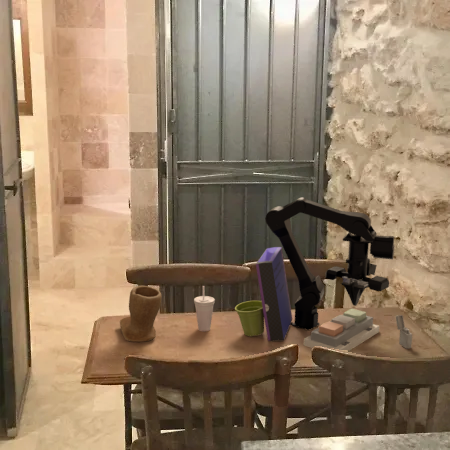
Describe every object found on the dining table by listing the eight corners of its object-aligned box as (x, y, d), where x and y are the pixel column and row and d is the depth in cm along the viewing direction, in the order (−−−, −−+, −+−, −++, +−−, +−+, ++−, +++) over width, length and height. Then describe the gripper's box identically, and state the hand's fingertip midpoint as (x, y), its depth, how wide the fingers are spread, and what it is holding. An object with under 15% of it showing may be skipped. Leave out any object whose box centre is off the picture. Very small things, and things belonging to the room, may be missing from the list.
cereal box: (277, 320, 212) (266, 247, 208) (292, 319, 211) (281, 246, 206) (268, 341, 196) (255, 263, 191) (283, 340, 194) (271, 261, 190)
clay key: (318, 334, 192) (319, 325, 191) (327, 329, 196) (328, 321, 195) (333, 338, 189) (334, 330, 188) (342, 333, 192) (343, 325, 192)
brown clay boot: (164, 343, 194) (164, 294, 190) (123, 346, 191) (122, 297, 188) (157, 324, 208) (157, 278, 205) (119, 327, 206) (118, 280, 202)
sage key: (343, 320, 202) (343, 312, 202) (351, 316, 206) (351, 308, 205) (357, 324, 199) (358, 316, 199) (365, 319, 203) (366, 312, 202)
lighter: (411, 348, 192) (413, 322, 190) (406, 348, 191) (408, 322, 190) (398, 338, 199) (400, 313, 197) (393, 339, 198) (395, 313, 196)
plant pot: (232, 336, 201) (228, 309, 199) (252, 324, 207) (248, 298, 205) (255, 341, 194) (252, 313, 192) (275, 329, 201) (272, 302, 199)
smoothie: (190, 331, 203) (190, 287, 199) (199, 323, 208) (199, 281, 205) (209, 334, 200) (209, 290, 197) (217, 326, 206) (218, 284, 203)
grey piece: (303, 345, 193) (304, 330, 192) (344, 322, 211) (345, 309, 210) (339, 356, 186) (340, 341, 185) (378, 331, 203) (379, 318, 202)
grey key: (331, 327, 197) (331, 319, 196) (339, 322, 201) (340, 314, 200) (346, 331, 194) (346, 323, 193) (354, 326, 198) (354, 318, 197)
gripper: (399, 256, 198) (395, 305, 202) (344, 245, 210) (341, 291, 213) (381, 264, 190) (378, 315, 193) (325, 252, 201) (323, 300, 205)
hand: (354, 305), depth 202 cm, fingers closed
